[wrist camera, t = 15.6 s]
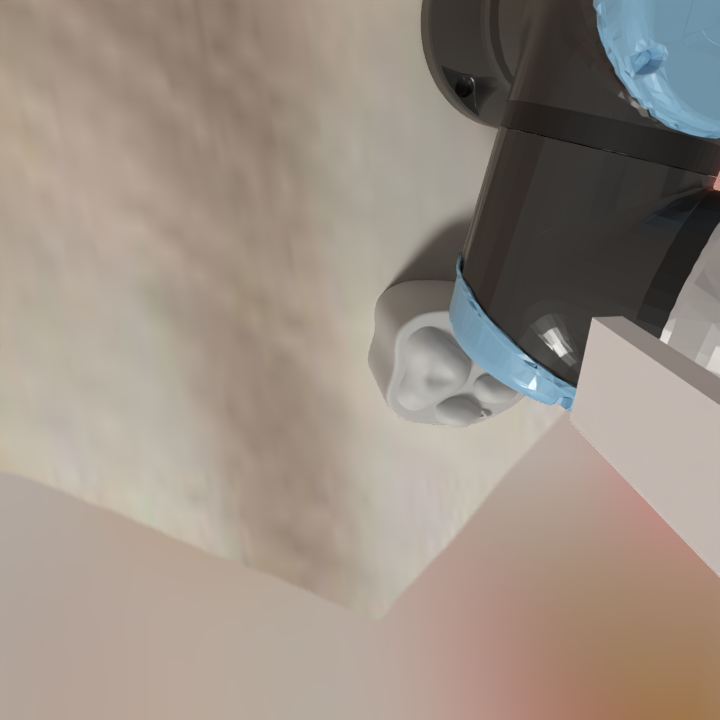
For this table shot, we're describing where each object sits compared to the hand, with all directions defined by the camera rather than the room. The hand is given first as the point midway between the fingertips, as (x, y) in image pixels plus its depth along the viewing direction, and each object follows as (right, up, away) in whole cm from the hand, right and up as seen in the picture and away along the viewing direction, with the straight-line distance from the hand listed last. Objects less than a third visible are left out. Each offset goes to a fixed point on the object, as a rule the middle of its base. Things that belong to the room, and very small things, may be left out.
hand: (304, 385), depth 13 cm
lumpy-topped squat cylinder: (+8, +3, +42) cm, 43 cm away
